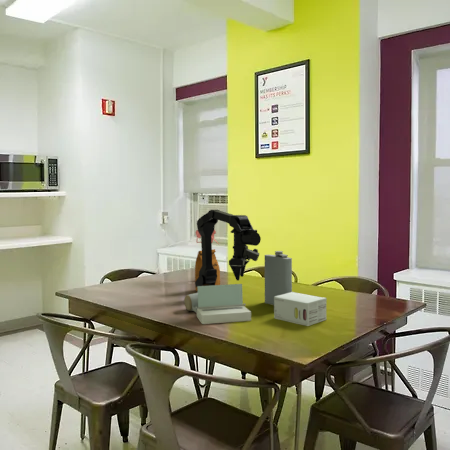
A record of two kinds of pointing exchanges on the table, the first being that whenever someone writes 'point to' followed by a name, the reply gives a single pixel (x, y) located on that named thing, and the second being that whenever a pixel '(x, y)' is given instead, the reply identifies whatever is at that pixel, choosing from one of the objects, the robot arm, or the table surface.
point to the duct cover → (220, 296)
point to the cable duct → (223, 314)
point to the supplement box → (300, 308)
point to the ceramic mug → (191, 302)
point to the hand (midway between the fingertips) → (240, 278)
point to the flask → (277, 276)
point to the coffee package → (199, 265)
